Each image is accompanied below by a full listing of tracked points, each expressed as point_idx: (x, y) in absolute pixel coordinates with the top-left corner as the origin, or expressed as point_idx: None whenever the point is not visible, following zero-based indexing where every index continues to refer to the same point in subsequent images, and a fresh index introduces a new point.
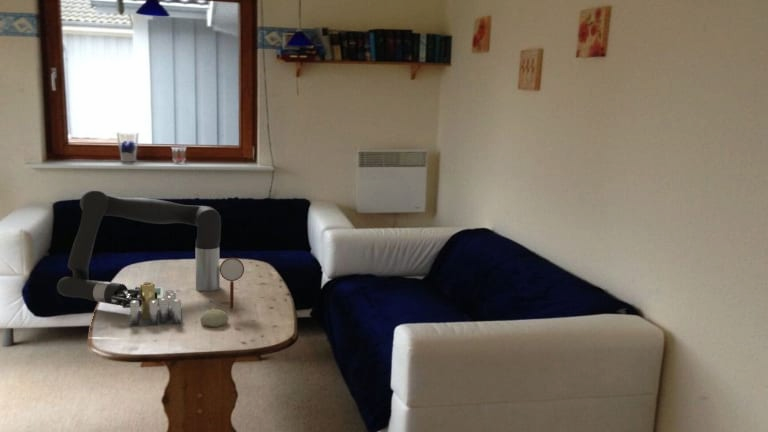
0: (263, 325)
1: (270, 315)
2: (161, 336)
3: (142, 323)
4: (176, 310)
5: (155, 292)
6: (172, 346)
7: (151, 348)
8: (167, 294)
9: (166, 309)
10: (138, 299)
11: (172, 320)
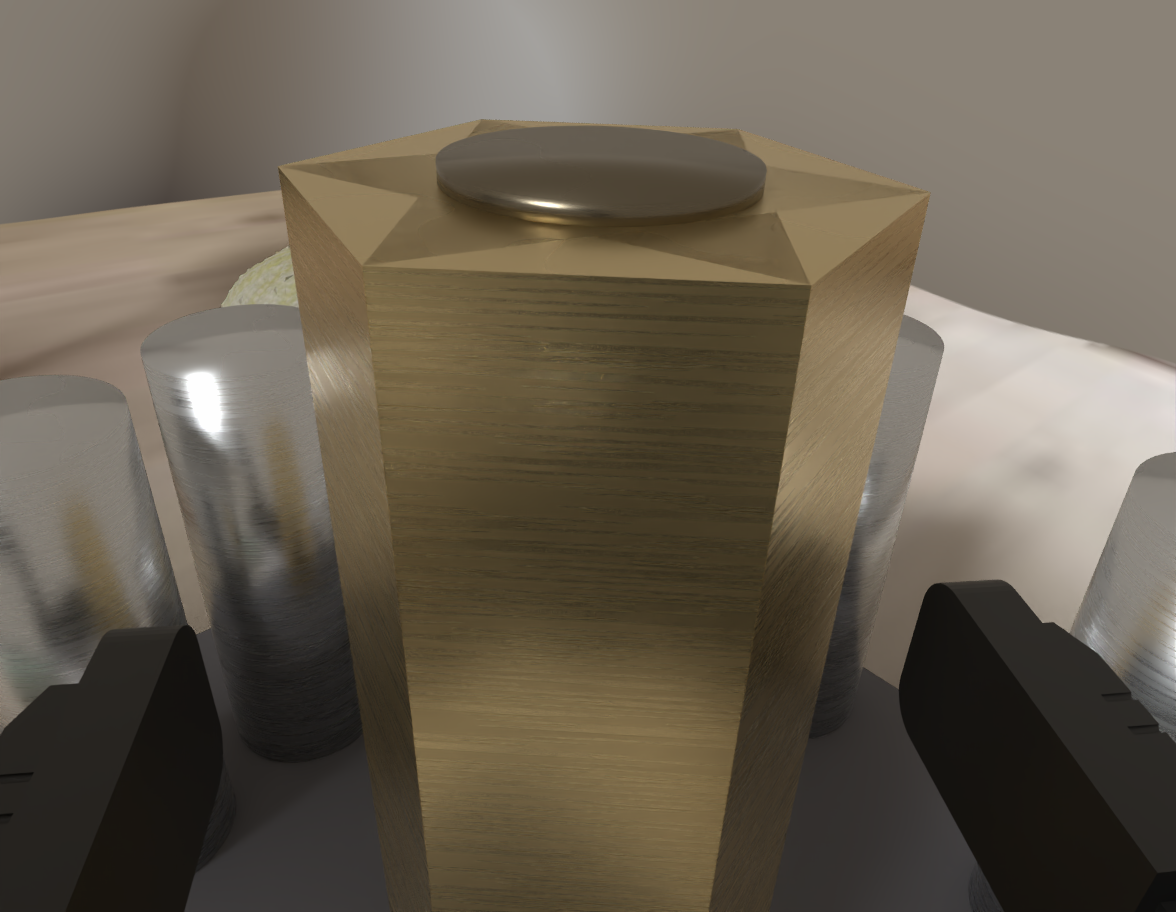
0: (279, 240)
1: (36, 260)
2: (934, 484)
3: (914, 838)
4: None
5: (115, 652)
6: (982, 362)
7: (1160, 417)
8: (139, 466)
9: None
10: (1034, 616)
11: None
